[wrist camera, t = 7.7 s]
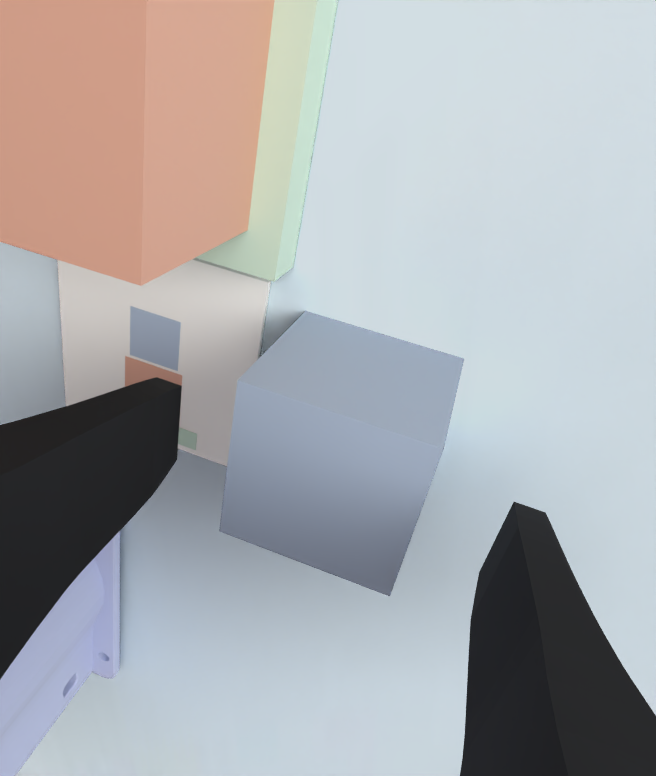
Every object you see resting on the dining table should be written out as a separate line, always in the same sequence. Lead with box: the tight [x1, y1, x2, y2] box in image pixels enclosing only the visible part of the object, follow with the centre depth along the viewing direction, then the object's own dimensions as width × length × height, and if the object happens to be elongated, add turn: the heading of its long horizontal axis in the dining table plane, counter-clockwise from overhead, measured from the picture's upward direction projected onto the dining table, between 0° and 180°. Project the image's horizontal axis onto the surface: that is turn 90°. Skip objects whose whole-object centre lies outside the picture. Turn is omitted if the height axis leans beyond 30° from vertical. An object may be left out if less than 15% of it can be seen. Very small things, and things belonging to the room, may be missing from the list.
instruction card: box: [57, 258, 271, 467], centre depth 16 cm, size 6×6×1 cm
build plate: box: [195, 0, 338, 282], centre depth 12 cm, size 7×7×1 cm
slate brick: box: [220, 311, 464, 596], centre depth 13 cm, size 4×4×4 cm
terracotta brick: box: [0, 0, 275, 286], centre depth 10 cm, size 5×5×4 cm
